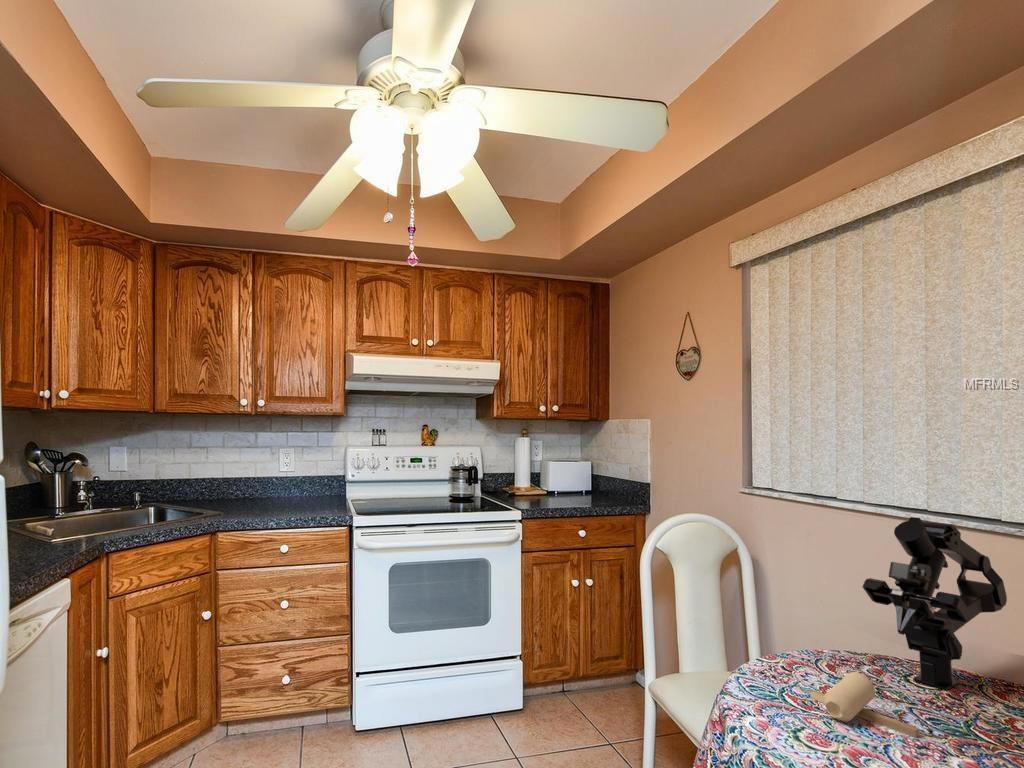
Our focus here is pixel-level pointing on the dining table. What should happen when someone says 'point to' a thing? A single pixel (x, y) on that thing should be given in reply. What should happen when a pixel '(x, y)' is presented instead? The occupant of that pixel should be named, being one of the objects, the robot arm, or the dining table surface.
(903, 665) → the dining table surface
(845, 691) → the candle
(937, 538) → the robot arm
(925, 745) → the dining table surface
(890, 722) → the oak strip
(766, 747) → the dining table surface
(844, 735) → the dining table surface
